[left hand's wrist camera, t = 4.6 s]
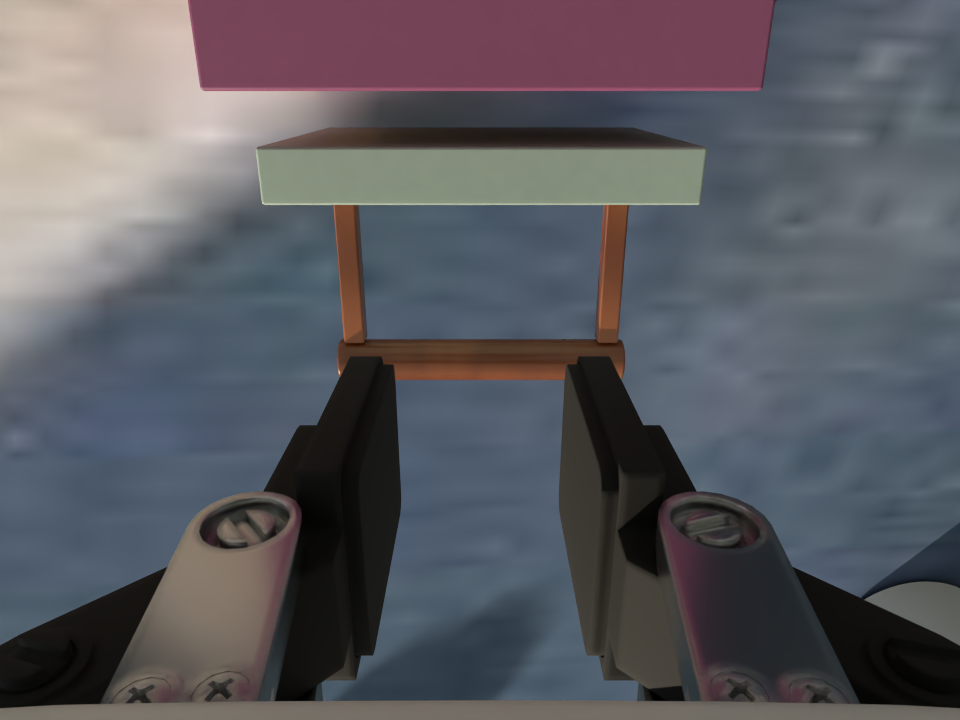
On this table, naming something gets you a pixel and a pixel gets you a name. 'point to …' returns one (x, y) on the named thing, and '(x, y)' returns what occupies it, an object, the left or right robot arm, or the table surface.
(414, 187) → the drawer
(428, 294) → the table surface
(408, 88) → the cabinet
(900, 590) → the coffee cup
